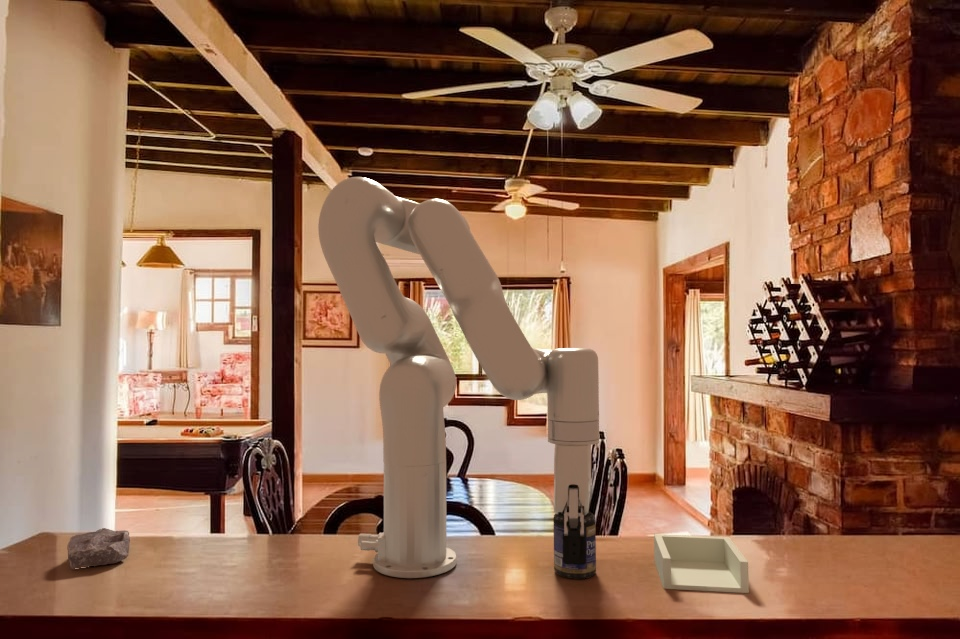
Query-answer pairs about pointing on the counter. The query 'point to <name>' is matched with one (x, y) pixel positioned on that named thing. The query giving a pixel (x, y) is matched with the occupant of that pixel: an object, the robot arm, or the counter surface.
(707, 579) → the holder
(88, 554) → the rock
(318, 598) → the counter surface
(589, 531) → the pill bottle
